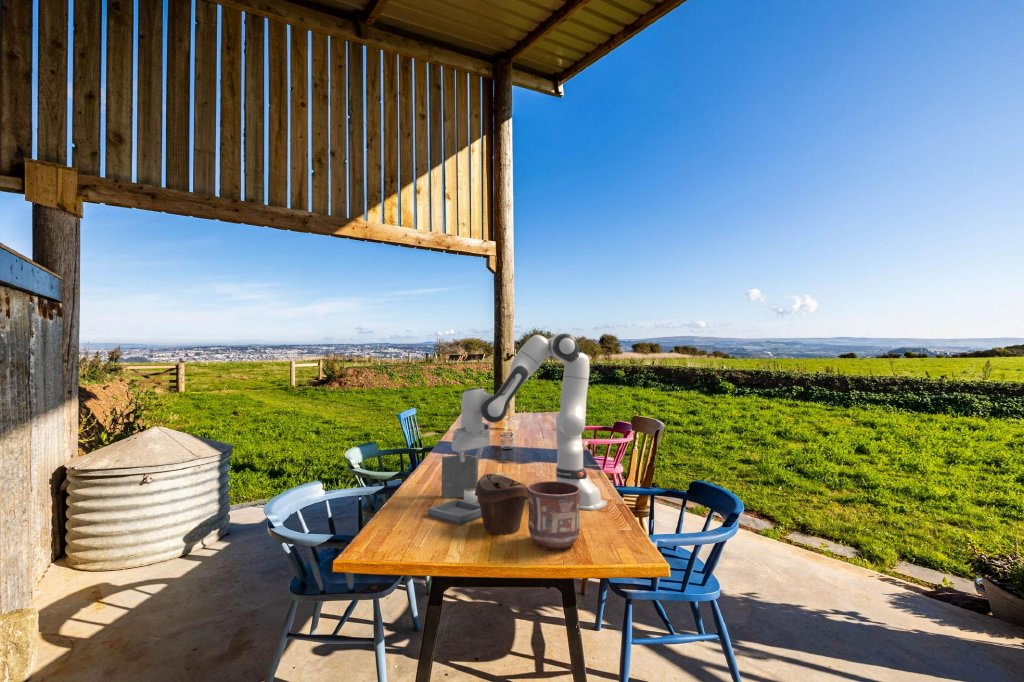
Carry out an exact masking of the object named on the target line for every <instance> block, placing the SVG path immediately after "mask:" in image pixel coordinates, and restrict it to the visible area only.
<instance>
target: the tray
mask: <svg viewBox="0 0 1024 682" xmlns="http://www.w3.org/2000/svg"><path fill="white" fill-rule="evenodd" d="M427 517H428V518H432V519H436V520H439V521H442V522H446V523H450V524H453V525H457V526H463V525H465V524H468V523H471V522H474V521H477V520H478V519H481V518H482V514H481V509H480V504H479V503H477V504H475V503H470V502H466V501H464V500H461V499H453V500H451V501H447V502H445V503H441V504H438V505H434V506H432V507H427Z"/></svg>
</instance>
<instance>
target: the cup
mask: <svg viewBox="0 0 1024 682" xmlns="http://www.w3.org/2000/svg"><path fill="white" fill-rule="evenodd" d="M475 490H476V489H475V488H467V489H464V497H463V501H466V502H470V503H475V504H478V497H477V496H475Z"/></svg>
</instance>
